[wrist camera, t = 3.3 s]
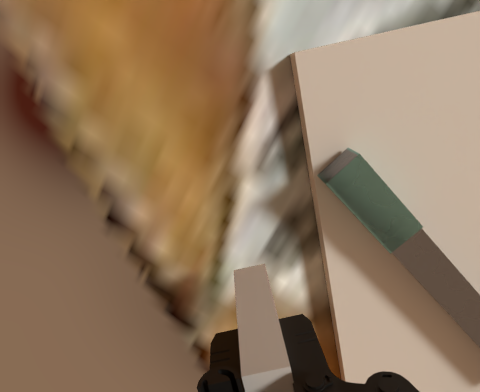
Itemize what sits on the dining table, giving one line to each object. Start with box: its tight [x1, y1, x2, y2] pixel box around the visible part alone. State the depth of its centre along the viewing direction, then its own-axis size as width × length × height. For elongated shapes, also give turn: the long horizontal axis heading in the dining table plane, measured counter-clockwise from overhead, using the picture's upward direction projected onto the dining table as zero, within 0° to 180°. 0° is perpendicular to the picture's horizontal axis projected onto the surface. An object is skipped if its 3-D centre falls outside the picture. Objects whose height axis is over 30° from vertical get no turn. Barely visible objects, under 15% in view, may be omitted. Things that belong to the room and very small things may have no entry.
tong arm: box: [317, 148, 480, 348], centre depth 19 cm, size 18×2×2 cm, turn 44°
